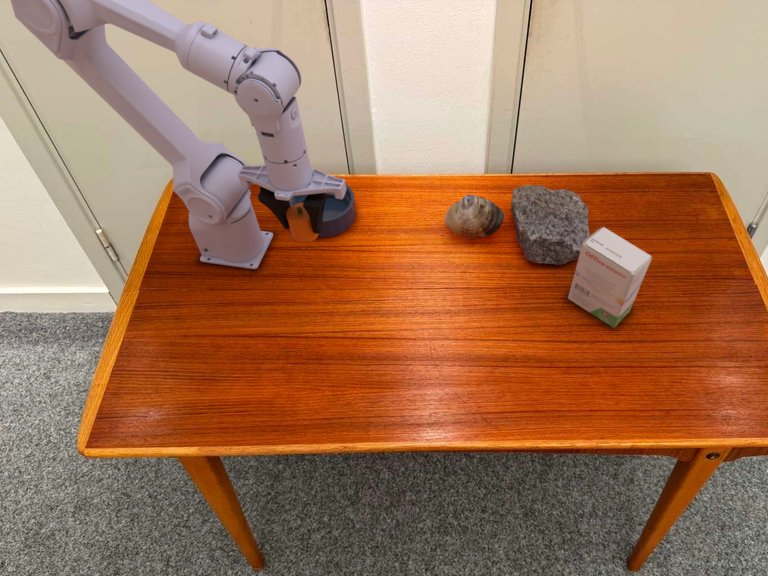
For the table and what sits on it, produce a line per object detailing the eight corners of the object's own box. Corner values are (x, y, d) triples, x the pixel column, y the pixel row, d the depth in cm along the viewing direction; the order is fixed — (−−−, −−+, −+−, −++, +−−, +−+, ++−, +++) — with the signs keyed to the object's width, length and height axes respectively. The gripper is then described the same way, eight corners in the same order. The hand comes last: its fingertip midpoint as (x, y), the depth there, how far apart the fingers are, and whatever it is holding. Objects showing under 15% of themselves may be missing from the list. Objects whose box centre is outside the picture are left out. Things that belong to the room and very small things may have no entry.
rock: (589, 272, 99) (581, 208, 108) (598, 242, 94) (589, 178, 103) (509, 267, 99) (507, 204, 108) (513, 237, 94) (512, 173, 103)
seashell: (443, 246, 102) (443, 208, 95) (445, 221, 105) (445, 183, 99) (502, 248, 102) (506, 211, 95) (502, 223, 105) (506, 186, 98)
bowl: (285, 235, 103) (280, 217, 100) (305, 193, 109) (301, 174, 106) (347, 243, 102) (344, 225, 99) (363, 200, 108) (361, 182, 105)
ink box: (566, 298, 95) (579, 243, 86) (586, 280, 98) (601, 224, 88) (613, 329, 92) (633, 275, 82) (633, 309, 94) (654, 254, 85)
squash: (288, 241, 93) (280, 215, 89) (297, 222, 95) (290, 196, 91) (314, 245, 92) (308, 219, 88) (322, 226, 94) (317, 200, 90)
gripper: (219, 162, 80) (246, 238, 91) (328, 177, 78) (343, 253, 89) (240, 128, 84) (264, 206, 95) (345, 142, 82) (356, 219, 93)
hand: (303, 226), depth 92 cm, fingers closed on squash, 4 cm apart
